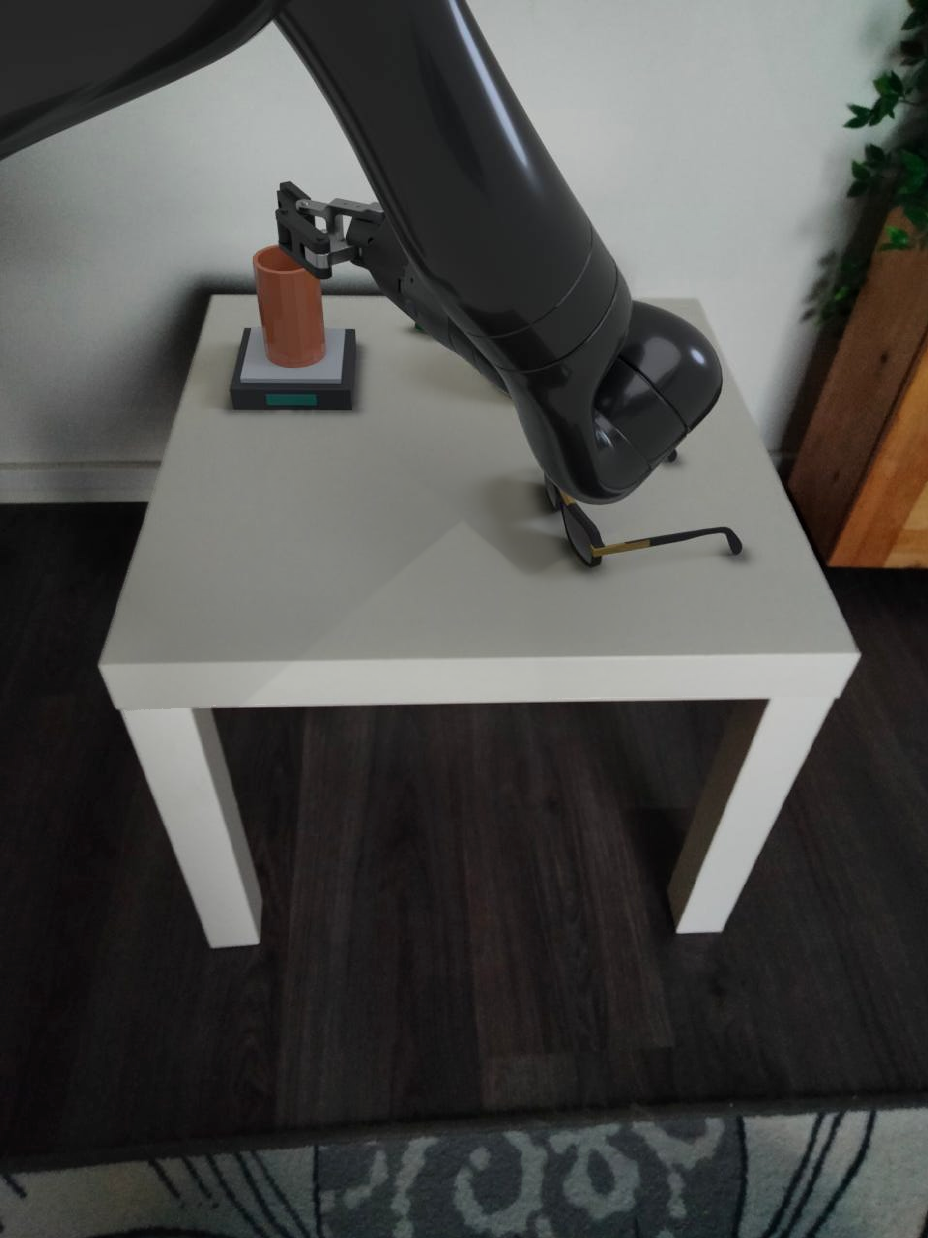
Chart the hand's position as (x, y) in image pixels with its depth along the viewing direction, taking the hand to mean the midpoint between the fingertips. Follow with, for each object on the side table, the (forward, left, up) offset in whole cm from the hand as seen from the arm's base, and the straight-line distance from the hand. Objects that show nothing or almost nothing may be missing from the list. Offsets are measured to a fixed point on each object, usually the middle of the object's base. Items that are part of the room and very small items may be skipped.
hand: (338, 184), depth 66 cm
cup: (+8, +15, -23) cm, 29 cm away
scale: (+8, +16, -26) cm, 31 cm away
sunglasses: (+11, -23, -26) cm, 37 cm away
